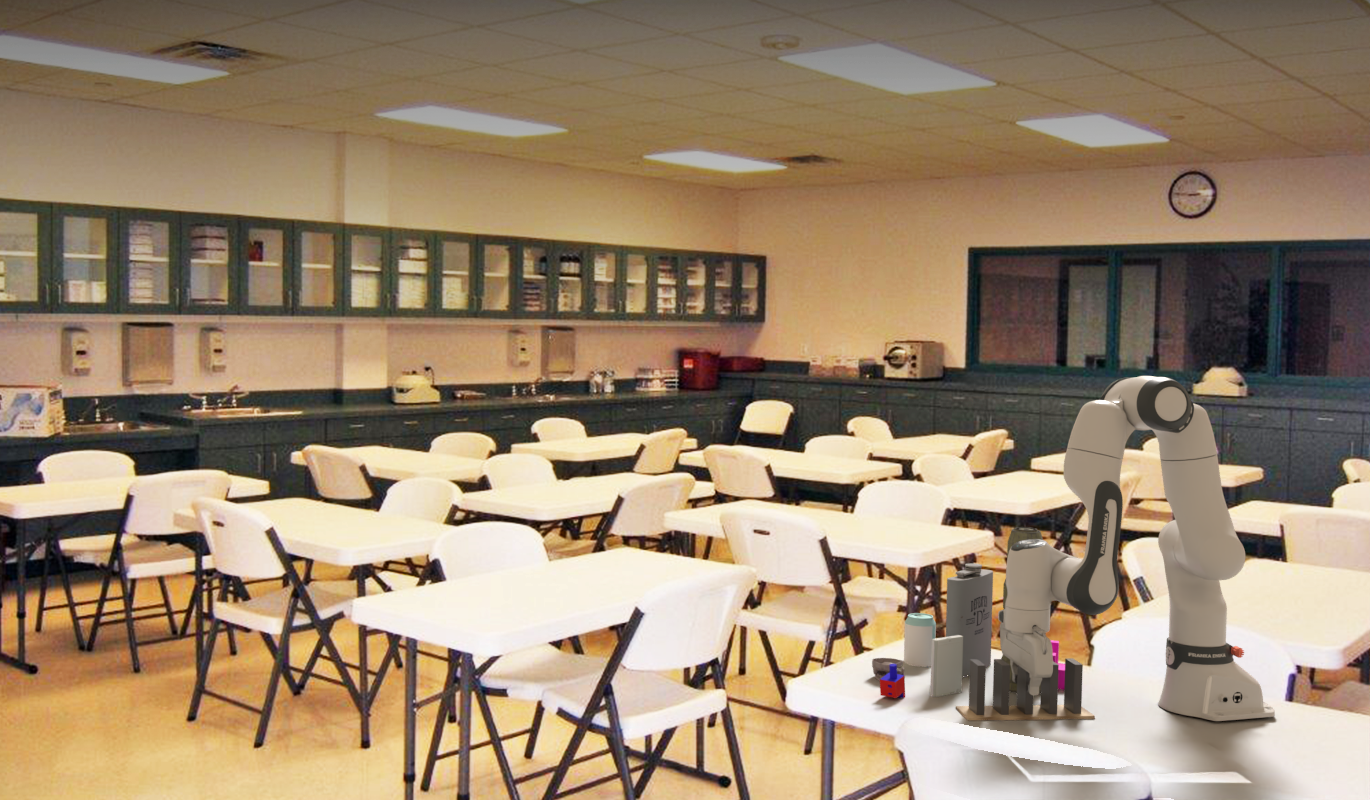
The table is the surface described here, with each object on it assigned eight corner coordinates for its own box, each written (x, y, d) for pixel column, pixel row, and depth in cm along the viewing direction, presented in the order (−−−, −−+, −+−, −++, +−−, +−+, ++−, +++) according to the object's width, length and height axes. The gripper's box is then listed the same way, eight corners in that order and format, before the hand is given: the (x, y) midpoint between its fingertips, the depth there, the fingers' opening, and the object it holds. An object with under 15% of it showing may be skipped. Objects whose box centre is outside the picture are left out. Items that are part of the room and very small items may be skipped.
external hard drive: (962, 693, 277) (964, 636, 276) (934, 699, 272) (936, 640, 271) (957, 692, 278) (958, 634, 277) (929, 697, 273) (930, 639, 273)
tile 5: (1071, 706, 266) (1072, 658, 265) (1081, 713, 261) (1082, 664, 260) (1063, 706, 266) (1065, 658, 265) (1073, 713, 261) (1074, 664, 260)
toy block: (1066, 691, 281) (1067, 656, 280) (1036, 688, 283) (1037, 654, 282) (1069, 674, 295) (1070, 642, 295) (1040, 672, 297) (1041, 639, 297)
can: (898, 667, 299) (899, 615, 298) (913, 661, 304) (914, 610, 303) (925, 672, 294) (926, 620, 293) (940, 666, 299) (941, 615, 299)
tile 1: (976, 708, 264) (977, 659, 263) (984, 715, 259) (985, 665, 258) (968, 708, 264) (969, 659, 263) (976, 715, 259) (977, 665, 258)
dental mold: (886, 677, 290) (886, 655, 289) (911, 683, 285) (912, 661, 285) (864, 683, 284) (864, 661, 284) (889, 690, 279) (890, 667, 279)
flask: (961, 682, 286) (964, 569, 285) (942, 678, 289) (945, 567, 288) (996, 667, 299) (999, 560, 298) (977, 664, 302) (980, 557, 301)
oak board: (1078, 707, 268) (1078, 704, 267) (1094, 718, 260) (1094, 715, 260) (955, 709, 265) (955, 706, 265) (968, 720, 257) (968, 717, 257)
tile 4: (1047, 707, 265) (1049, 658, 265) (1057, 714, 260) (1058, 664, 260) (1040, 707, 265) (1041, 658, 265) (1049, 714, 260) (1050, 664, 260)
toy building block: (880, 703, 270) (879, 666, 269) (889, 696, 274) (888, 659, 272) (896, 706, 268) (894, 669, 267) (905, 698, 271) (903, 662, 270)
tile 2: (1000, 707, 264) (1001, 659, 264) (1008, 714, 259) (1010, 665, 259) (992, 707, 264) (993, 659, 264) (1000, 714, 259) (1002, 665, 259)
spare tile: (1024, 707, 265) (1025, 658, 264) (1032, 714, 260) (1034, 665, 259) (1016, 707, 265) (1017, 658, 264) (1025, 714, 260) (1026, 665, 259)
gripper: (1062, 632, 251) (1060, 702, 252) (1024, 610, 272) (1022, 675, 272) (1030, 632, 251) (1028, 703, 251) (995, 610, 271) (993, 675, 272)
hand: (1025, 688), depth 262 cm, fingers open, 7 cm apart
